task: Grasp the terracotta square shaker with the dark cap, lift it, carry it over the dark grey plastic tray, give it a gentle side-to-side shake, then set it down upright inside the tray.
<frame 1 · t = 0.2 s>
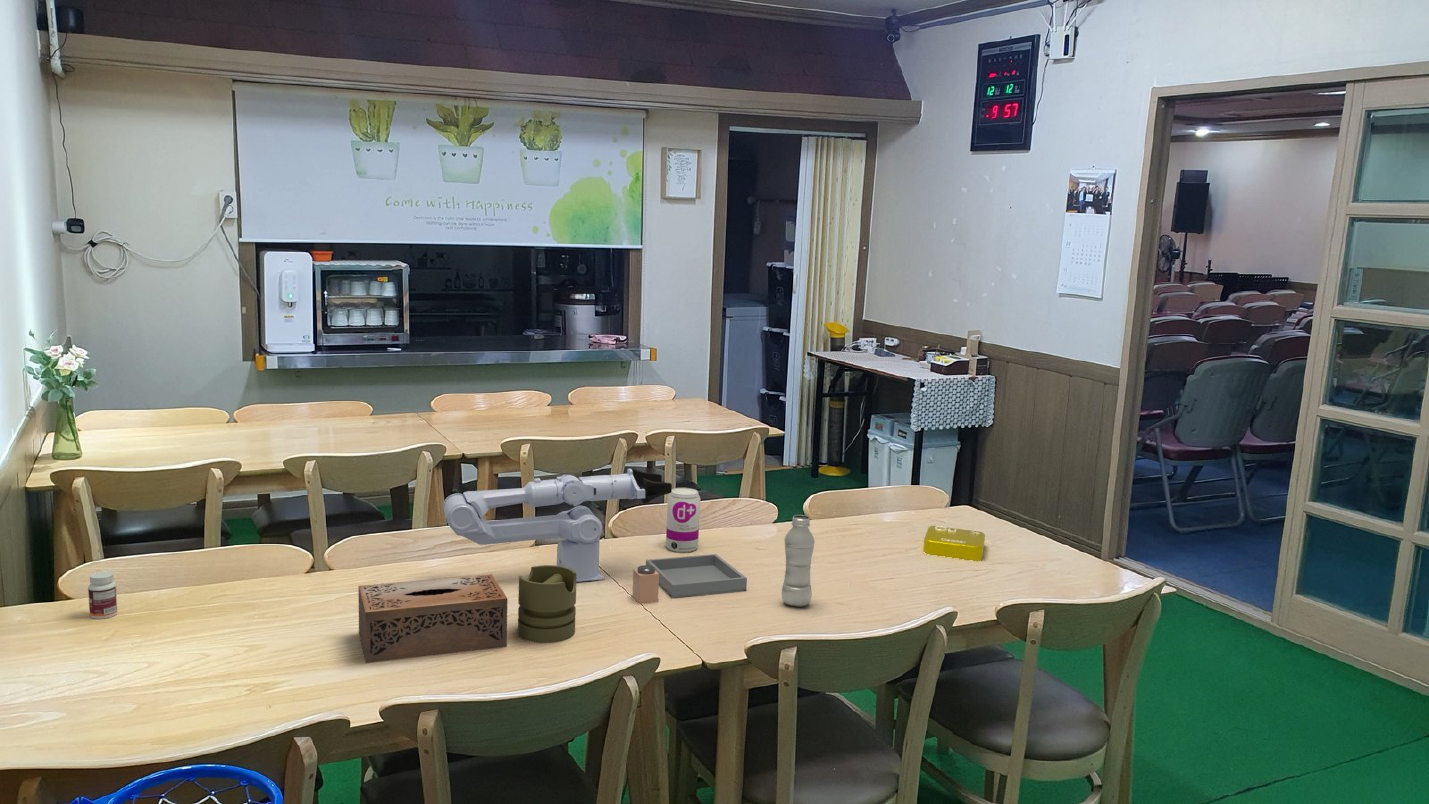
hand: (666, 483, 246), 21 cm above the table, tool horizontal, fingers open, 7 cm apart
piston: (546, 632, 210), on the table
supplement can: (681, 549, 267), on the table
tissue box cover: (432, 642, 203), on the table
element tile: (953, 552, 278), on the table
tray: (694, 581, 243), on the table
shaker: (645, 599, 230), on the table
pill bottle: (103, 616, 207), on the table
plastic bottle: (795, 605, 231), on the table
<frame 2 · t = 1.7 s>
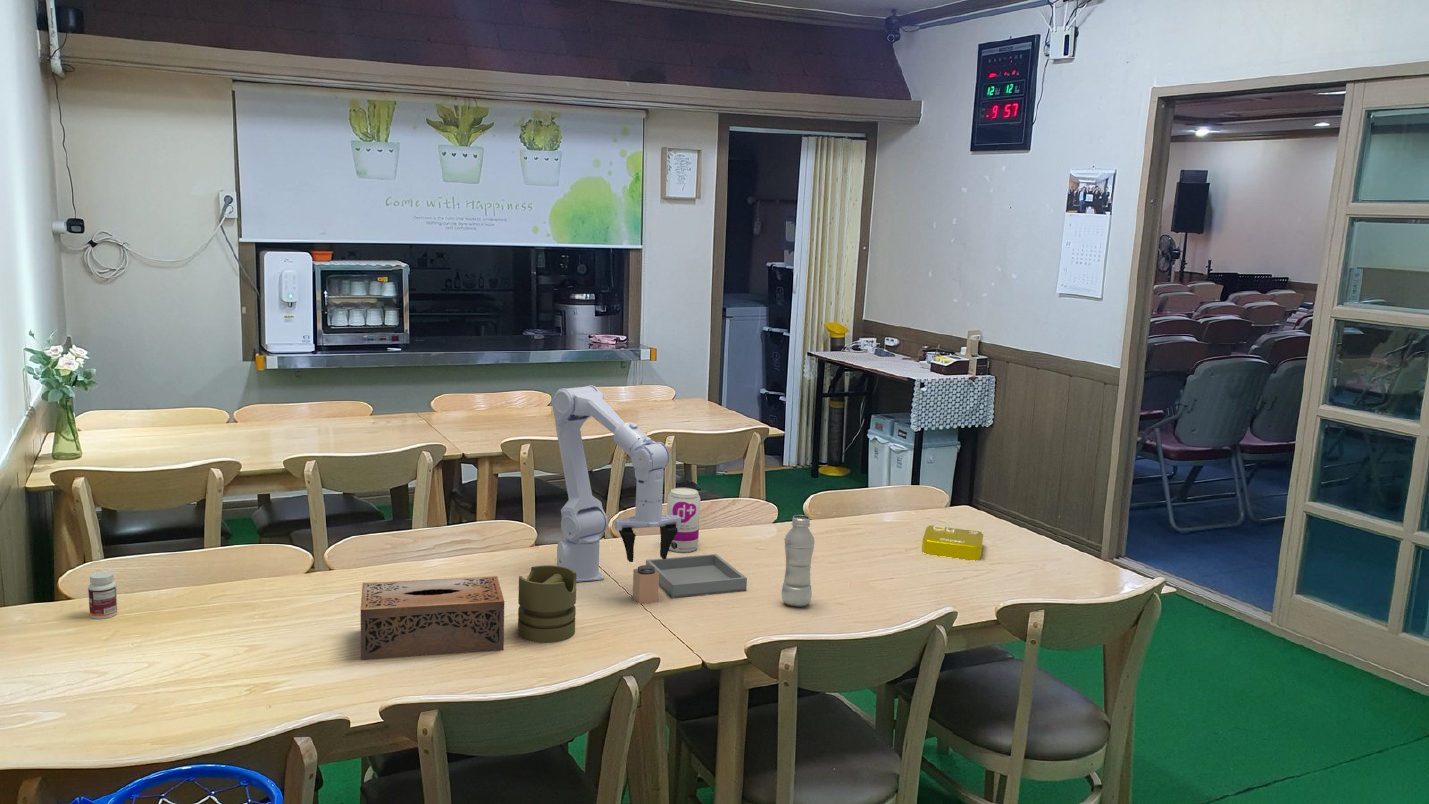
hand: (646, 559, 229), 9 cm above the table, tool pointing down, fingers open, 7 cm apart
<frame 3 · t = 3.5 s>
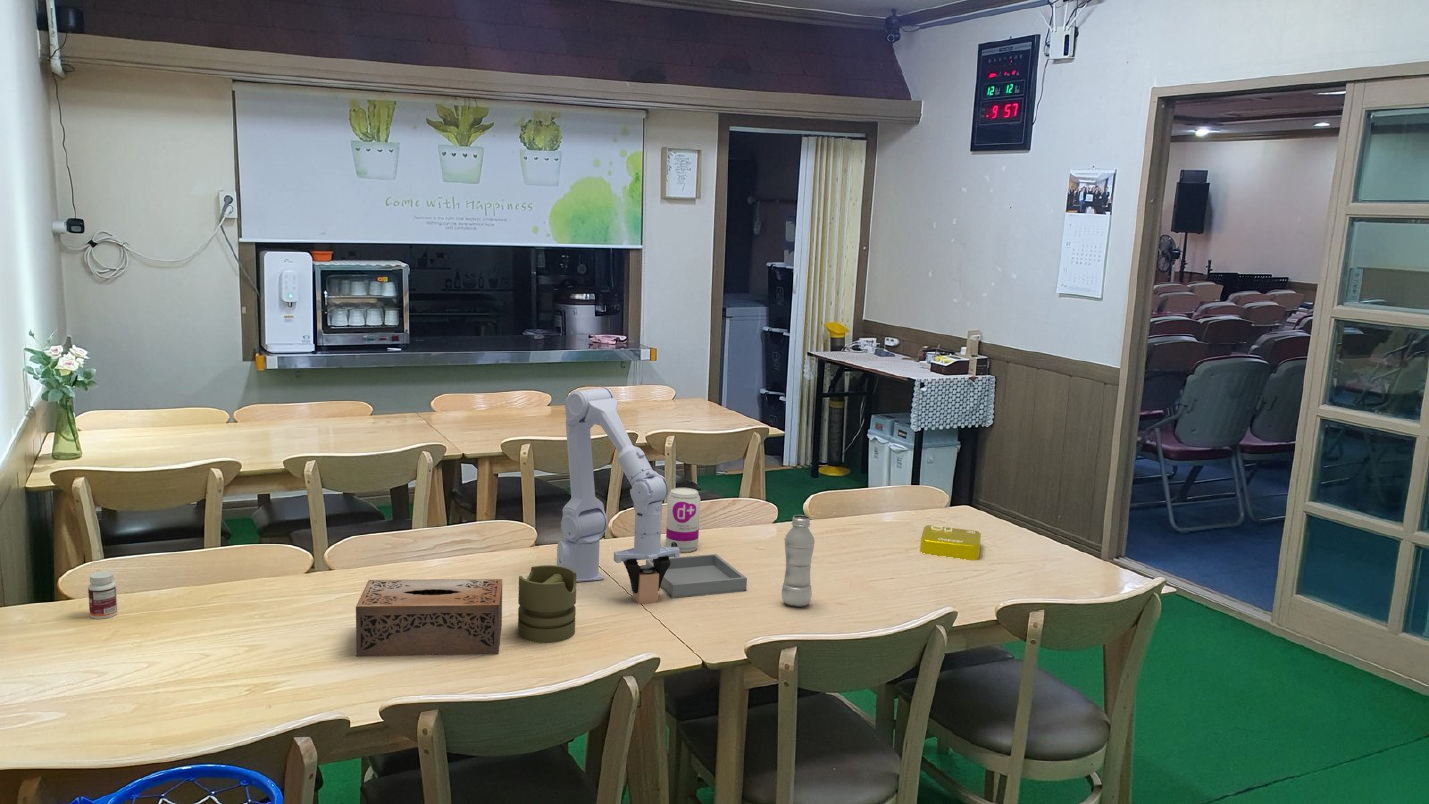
hand: (645, 590, 230), 2 cm above the table, tool pointing down, fingers closed on shaker, 4 cm apart
shaker: (645, 599, 230), on the table, touching gripper
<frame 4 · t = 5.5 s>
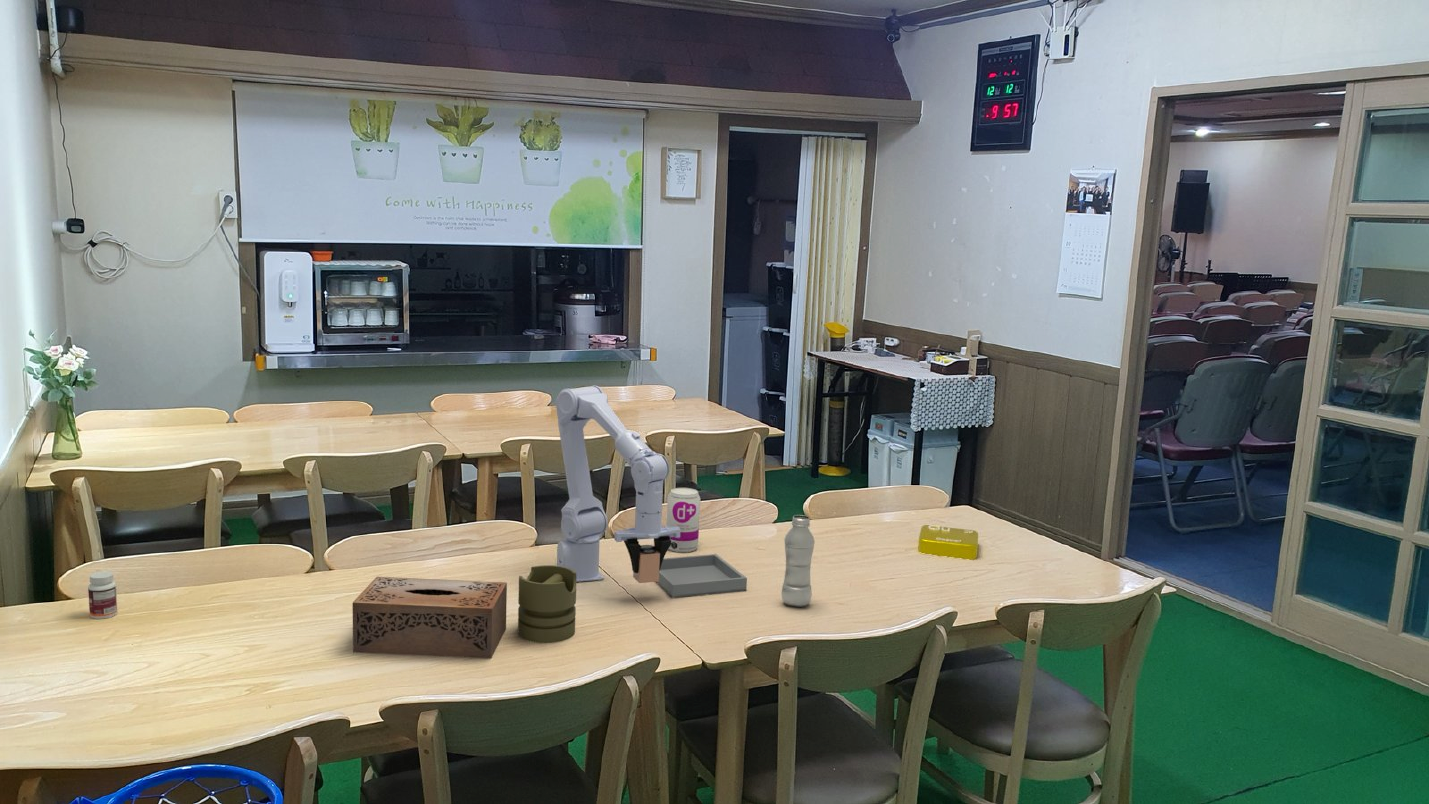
hand: (646, 570, 229), 7 cm above the table, tool pointing down, fingers closed on shaker, 4 cm apart
shaker: (645, 579, 229), point 5 cm above the table, touching gripper
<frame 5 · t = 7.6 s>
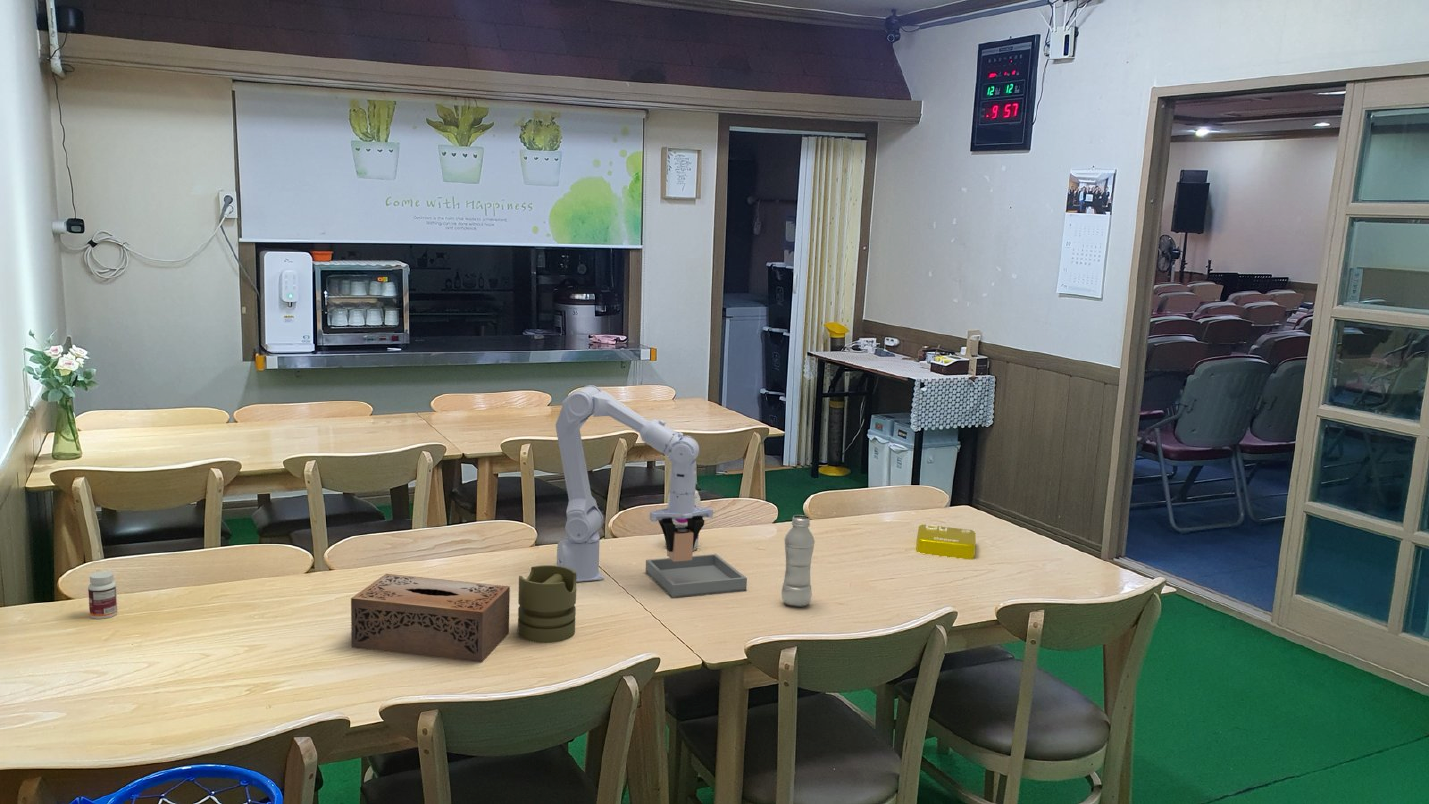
hand: (680, 549, 237), 9 cm above the table, tool pointing down, fingers closed on shaker, 4 cm apart
shaker: (679, 557, 237), point 7 cm above the table, touching gripper
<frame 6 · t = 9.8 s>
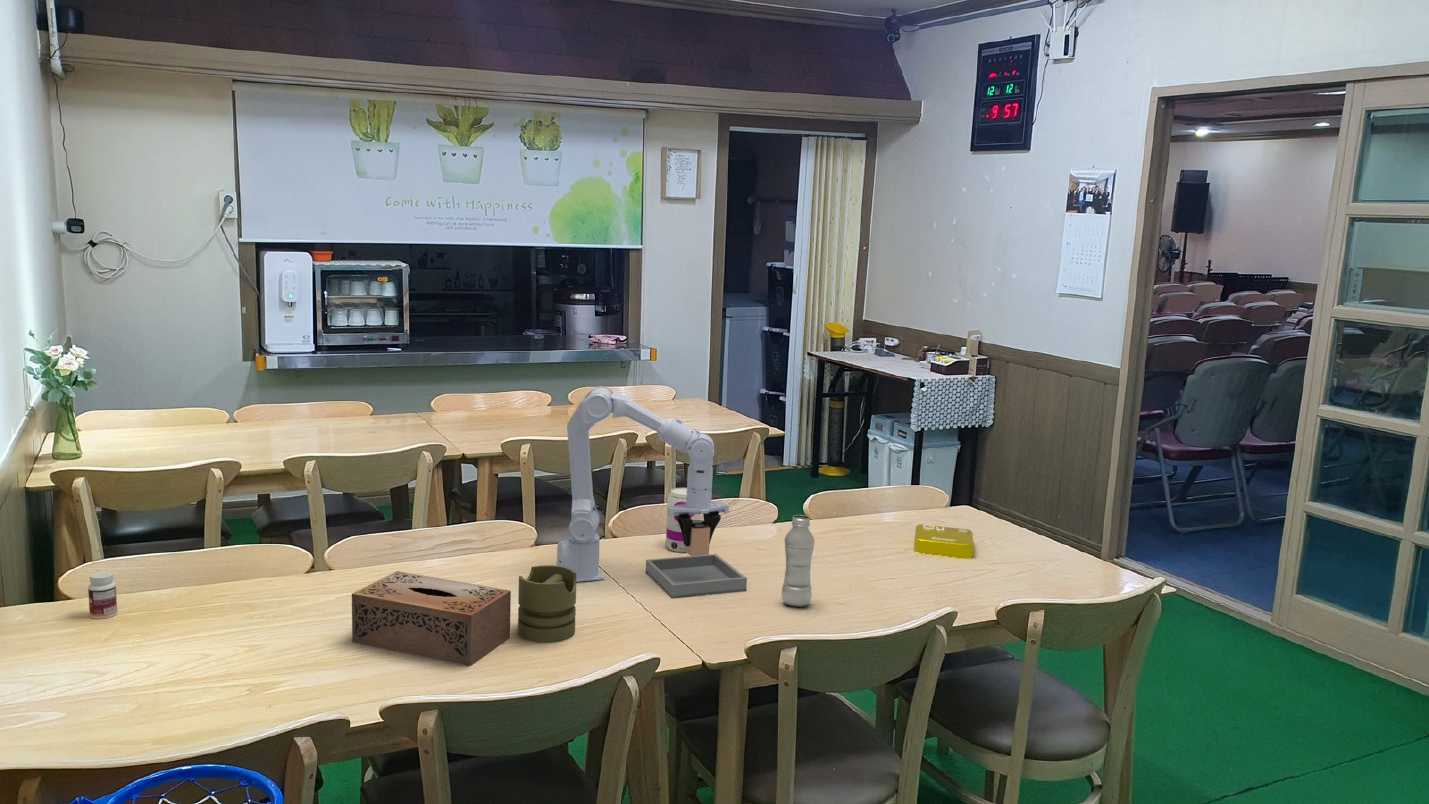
hand: (696, 544, 242), 9 cm above the table, tool pointing down, fingers closed on shaker, 4 cm apart
shaker: (696, 552, 242), point 7 cm above the table, touching gripper
when the fingers open (4 cm above the table, at t = 11.7 s): shaker drops 1 cm, resting on tray.
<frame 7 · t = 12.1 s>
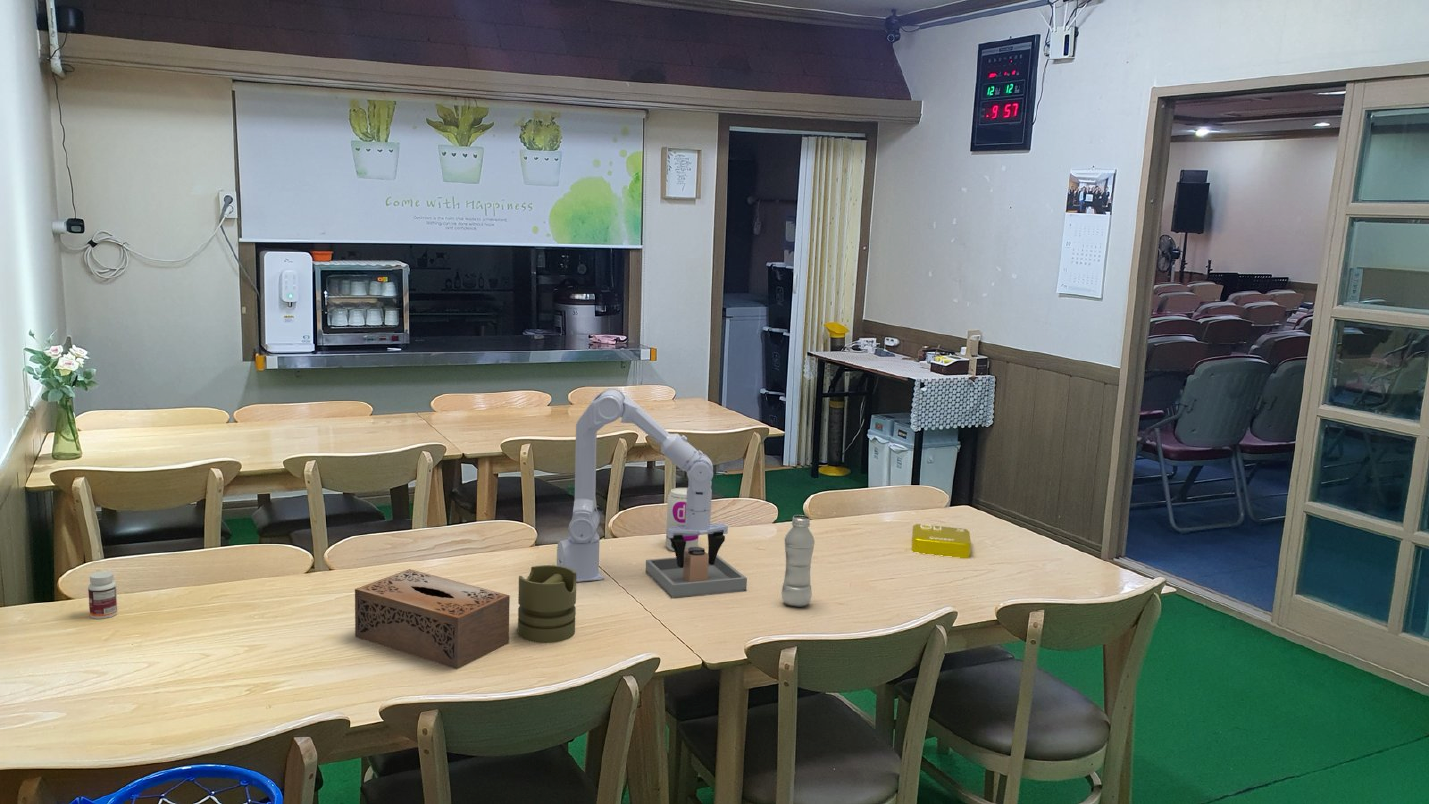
hand: (695, 565, 243), 4 cm above the table, tool pointing down, fingers open, 7 cm apart
shaker: (695, 579, 243), resting on tray
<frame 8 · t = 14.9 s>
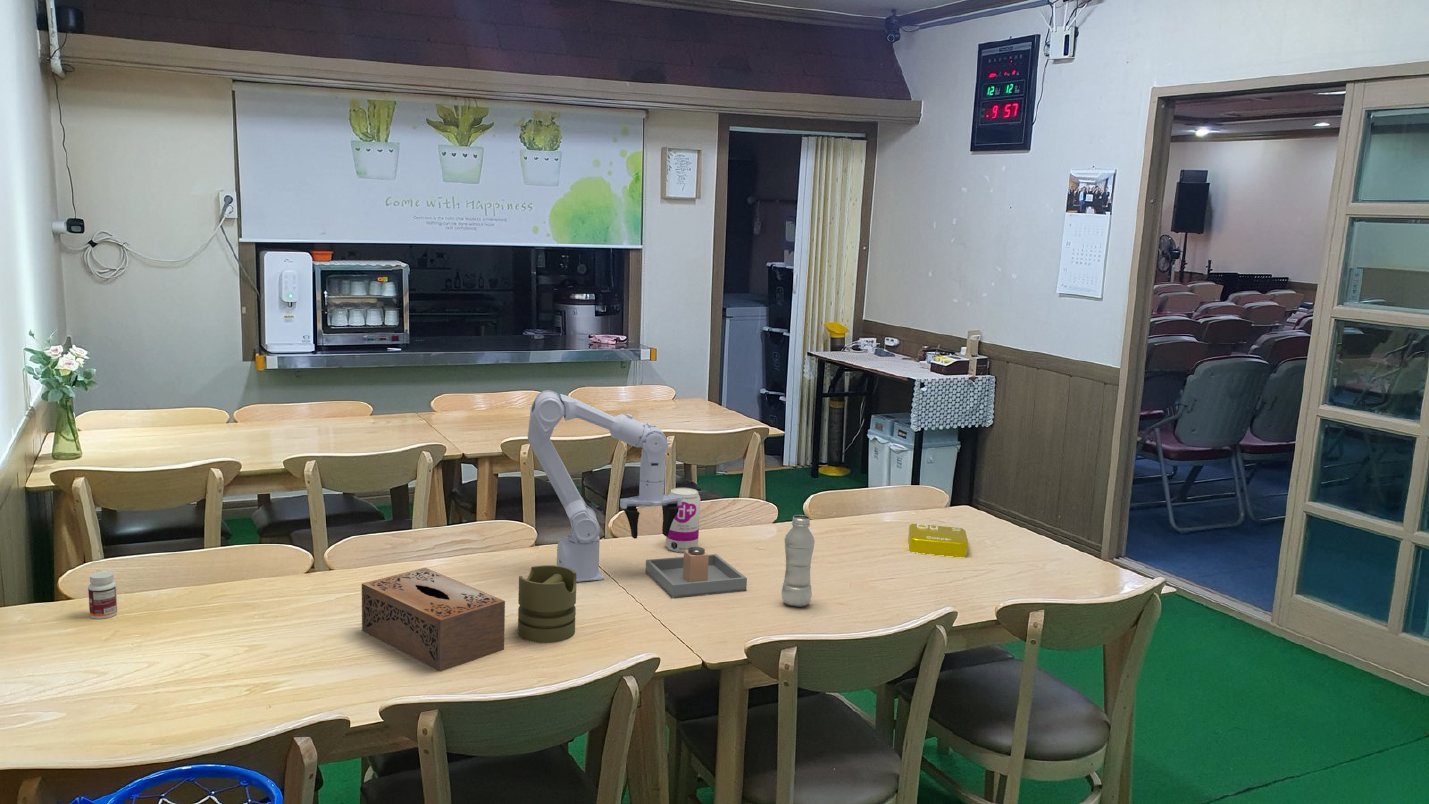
hand: (649, 536, 245), 9 cm above the table, tool pointing down, fingers open, 7 cm apart
at the end: shaker inside the target area on the tray (0.0 cm from its centre), point 0.5 cm above the tray's base; shaker tilted 0°; the gripper is holding nothing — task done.
